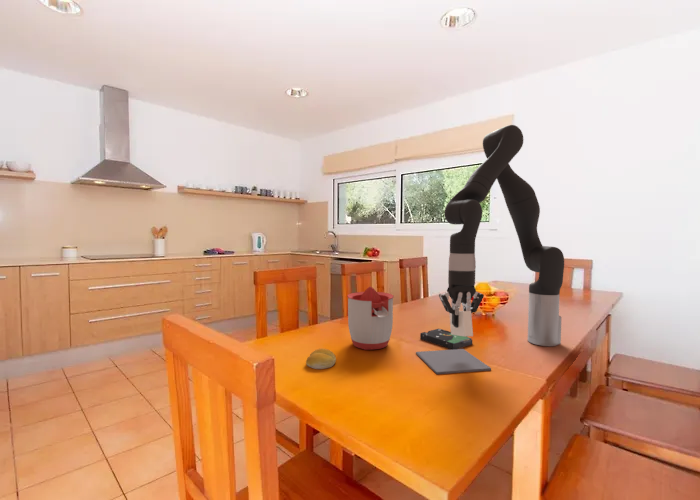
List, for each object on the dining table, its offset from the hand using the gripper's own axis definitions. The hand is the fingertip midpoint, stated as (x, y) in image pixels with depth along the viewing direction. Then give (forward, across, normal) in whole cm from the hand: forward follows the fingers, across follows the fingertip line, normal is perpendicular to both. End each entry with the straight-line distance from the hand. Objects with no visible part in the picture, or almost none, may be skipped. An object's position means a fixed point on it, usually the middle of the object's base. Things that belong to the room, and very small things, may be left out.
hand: (460, 326), depth 103 cm
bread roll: (+11, +41, -5) cm, 43 cm away
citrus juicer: (+11, +23, -18) cm, 31 cm away
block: (+2, 0, +1) cm, 3 cm away
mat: (+10, +3, 0) cm, 11 cm away
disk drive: (+11, -4, -18) cm, 21 cm away
